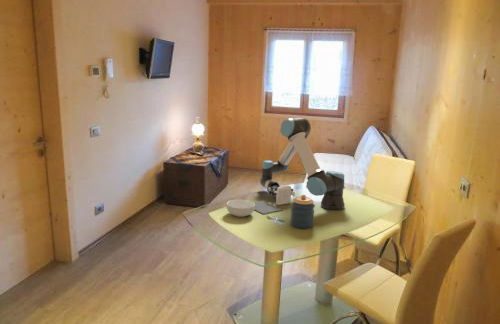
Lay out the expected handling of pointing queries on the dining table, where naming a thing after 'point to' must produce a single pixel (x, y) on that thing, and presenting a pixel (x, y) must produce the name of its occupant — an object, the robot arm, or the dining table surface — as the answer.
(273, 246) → the dining table surface
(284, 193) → the beige rounded block
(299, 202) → the canister
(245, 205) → the cereal bowl
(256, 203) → the mat
